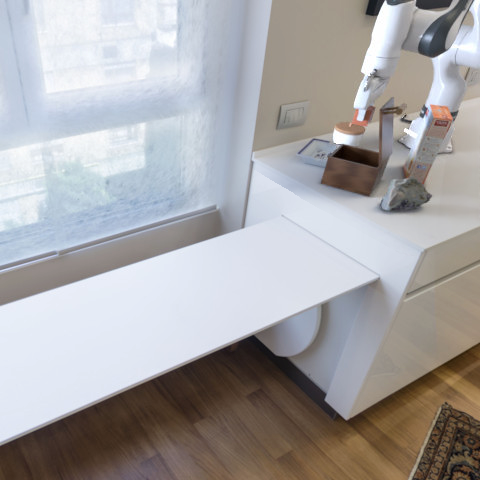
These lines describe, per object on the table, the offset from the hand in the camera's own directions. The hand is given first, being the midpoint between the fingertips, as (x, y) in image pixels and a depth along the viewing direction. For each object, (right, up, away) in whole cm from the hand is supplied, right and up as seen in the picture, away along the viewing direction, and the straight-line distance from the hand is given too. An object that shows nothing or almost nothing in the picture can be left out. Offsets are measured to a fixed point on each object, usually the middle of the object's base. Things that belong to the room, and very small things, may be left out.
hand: (363, 117), depth 133 cm
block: (0, -1, +1) cm, 2 cm away
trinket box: (+9, +4, +34) cm, 36 cm away
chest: (+2, -16, +13) cm, 20 cm away
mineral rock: (+12, -28, 0) cm, 30 cm away
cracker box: (+25, -12, +17) cm, 33 cm away
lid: (+6, -5, -1) cm, 8 cm away
